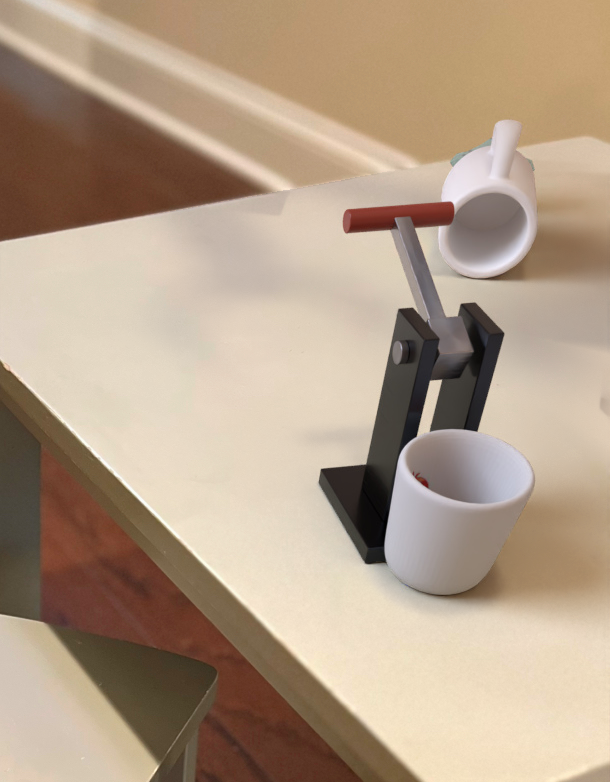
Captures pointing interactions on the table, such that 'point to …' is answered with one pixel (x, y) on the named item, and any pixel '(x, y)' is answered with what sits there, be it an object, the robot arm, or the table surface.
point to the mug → (490, 207)
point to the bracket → (410, 419)
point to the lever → (420, 274)
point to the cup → (454, 508)
